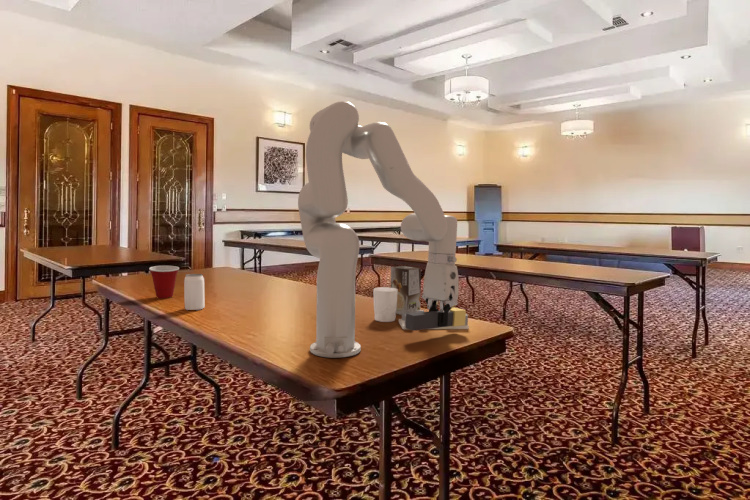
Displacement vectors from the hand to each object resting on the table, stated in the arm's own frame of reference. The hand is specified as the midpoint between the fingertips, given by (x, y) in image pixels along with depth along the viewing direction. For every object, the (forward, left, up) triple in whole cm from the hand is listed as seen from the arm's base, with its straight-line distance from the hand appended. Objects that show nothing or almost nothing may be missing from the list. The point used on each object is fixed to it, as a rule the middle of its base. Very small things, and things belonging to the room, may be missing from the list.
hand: (437, 323), depth 127 cm
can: (+37, +78, -4) cm, 86 cm away
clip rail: (+12, -1, -4) cm, 13 cm away
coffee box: (+29, +5, -4) cm, 30 cm away
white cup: (+20, +13, -4) cm, 24 cm away
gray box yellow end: (0, +1, -1) cm, 1 cm away
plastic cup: (+59, +96, -4) cm, 113 cm away
